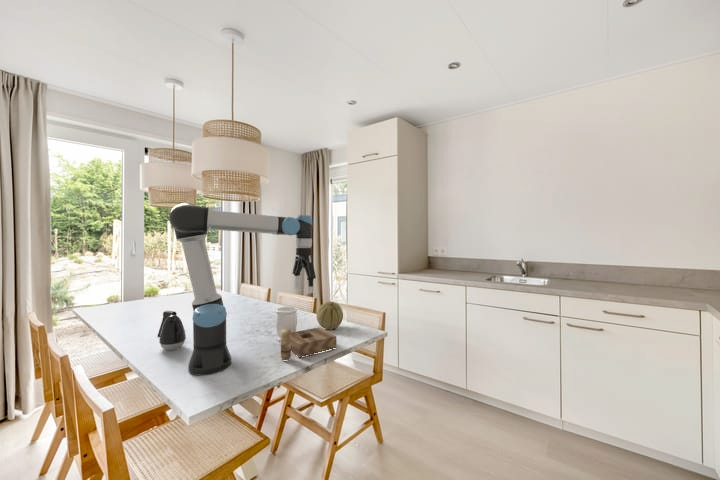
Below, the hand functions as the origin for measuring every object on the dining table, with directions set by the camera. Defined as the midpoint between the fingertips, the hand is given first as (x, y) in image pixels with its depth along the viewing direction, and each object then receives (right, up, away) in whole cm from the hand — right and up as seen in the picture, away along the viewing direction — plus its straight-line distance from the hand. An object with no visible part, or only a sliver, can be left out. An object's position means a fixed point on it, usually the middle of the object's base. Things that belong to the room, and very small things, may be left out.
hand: (303, 291), depth 150 cm
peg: (-3, -25, -22) cm, 33 cm away
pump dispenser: (-57, -25, -10) cm, 63 cm away
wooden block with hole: (+5, -25, -9) cm, 27 cm away
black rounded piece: (-70, -24, +9) cm, 75 cm away
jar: (-9, -24, +3) cm, 26 cm away
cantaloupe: (+11, -24, +20) cm, 33 cm away
